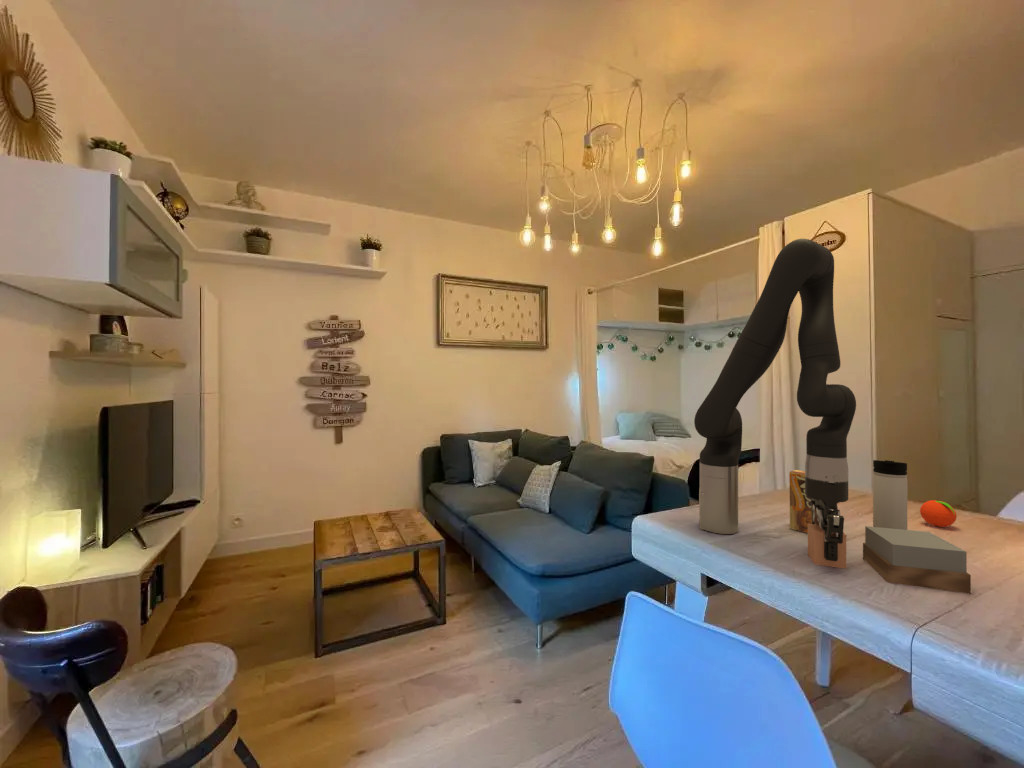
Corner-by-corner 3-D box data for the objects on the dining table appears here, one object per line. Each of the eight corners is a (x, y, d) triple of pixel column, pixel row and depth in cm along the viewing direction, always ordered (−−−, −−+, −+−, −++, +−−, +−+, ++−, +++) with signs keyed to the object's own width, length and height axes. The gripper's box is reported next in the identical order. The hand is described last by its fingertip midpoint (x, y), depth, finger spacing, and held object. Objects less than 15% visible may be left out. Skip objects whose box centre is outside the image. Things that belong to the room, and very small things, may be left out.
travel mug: (872, 541, 102) (872, 459, 102) (873, 534, 107) (873, 456, 107) (907, 548, 98) (907, 462, 98) (907, 540, 103) (907, 459, 103)
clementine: (968, 532, 109) (968, 504, 109) (941, 532, 109) (941, 504, 109) (938, 522, 117) (938, 496, 117) (912, 522, 117) (912, 496, 117)
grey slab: (893, 565, 81) (892, 544, 81) (865, 544, 91) (865, 526, 91) (966, 573, 78) (966, 551, 78) (929, 550, 88) (929, 531, 88)
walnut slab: (887, 585, 81) (888, 564, 81) (862, 560, 92) (862, 542, 92) (970, 596, 77) (970, 575, 77) (933, 569, 88) (933, 550, 88)
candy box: (835, 535, 106) (835, 475, 106) (828, 539, 104) (828, 477, 104) (796, 526, 114) (796, 469, 114) (788, 529, 111) (788, 471, 111)
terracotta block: (814, 564, 89) (814, 531, 89) (807, 554, 95) (807, 523, 95) (846, 568, 87) (846, 535, 87) (837, 558, 92) (837, 526, 92)
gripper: (797, 468, 99) (797, 540, 99) (814, 482, 86) (815, 565, 86) (836, 471, 96) (836, 545, 96) (860, 485, 83) (860, 571, 83)
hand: (826, 554), depth 91 cm, fingers closed on terracotta block, 5 cm apart
